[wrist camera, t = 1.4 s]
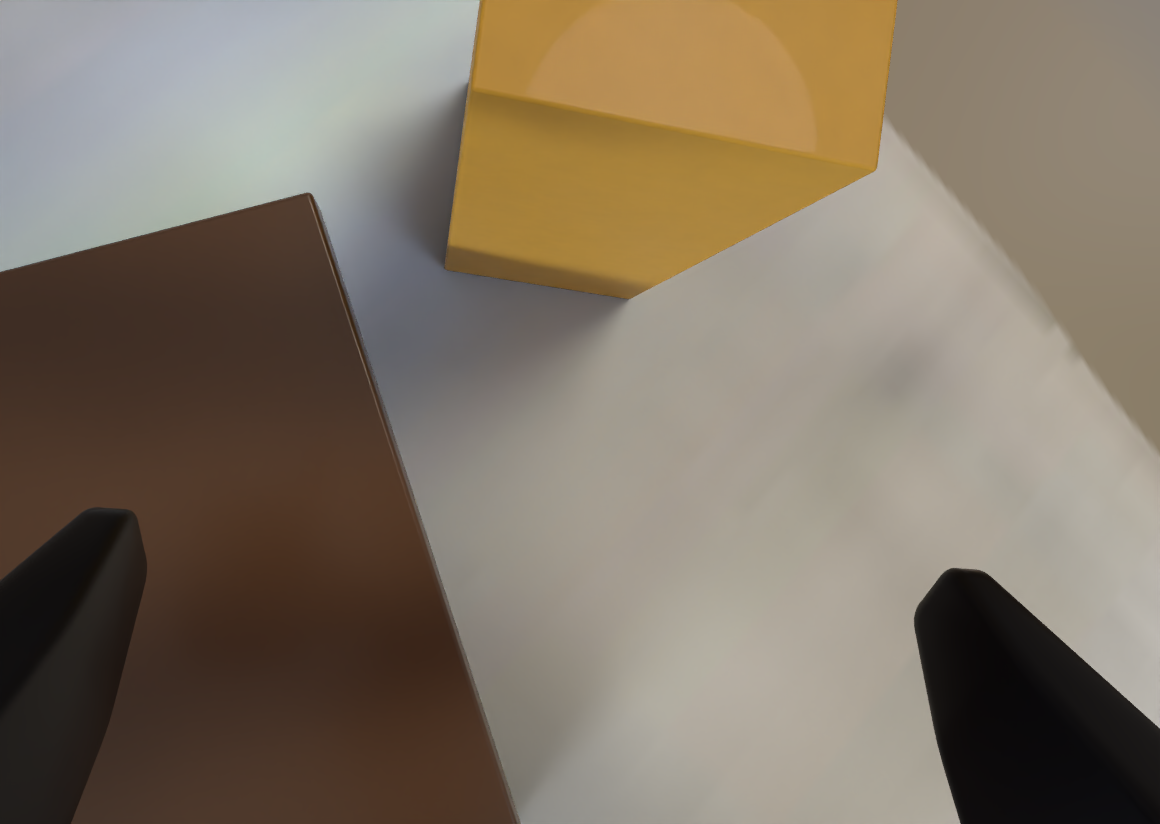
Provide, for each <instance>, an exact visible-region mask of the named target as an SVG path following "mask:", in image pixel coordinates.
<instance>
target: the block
mask: <svg viewBox="0 0 1160 824" xmlns="http://www.w3.org/2000/svg"><path fill="white" fill-rule="evenodd" d="M897 1H898V0H480V3H479V10H478V18H477V25H476V32H475V39H474V47H473V54H472V61H471V69H470V76H469V84H468V91H467V99H466V106H465V114H464V121H463V129H462V137H461V144H460V152H459V159H458V167H457V175H456V182H455V190H454V197H453V205H452V213H451V220H450V228H449V235H448V243H447V251H446V258H445V266H444V269H445V270H449V271H455V272H462V273H468V274H474V275H480V276H487V277H493V278H499V279H506V280H512V281H518V282H525V283H531V284H537V285H543V286H550V287H556V288H562V289H569V290H575V291H581V292H588V293H594V294H600V295H606V296H613V297H619V298H625V299H631V298H633V297H635V296H637V295H638V294H640V293H642V292H644V291H646V290H648V289H650V288H652V287H654V286H656V285H658V284H660V283H661V282H663V281H665V280H667V279H669V278H671V277H673V276H675V275H677V274H679V273H681V272H682V271H684V270H686V269H688V268H690V267H692V266H694V265H696V264H698V263H700V262H702V261H704V260H705V259H707V258H709V257H711V256H713V255H715V254H717V253H719V252H721V251H723V250H725V249H726V248H728V247H730V246H732V245H734V244H736V243H738V242H740V241H742V240H744V239H746V238H748V237H749V236H751V235H753V234H755V233H757V232H759V231H761V230H763V229H765V228H767V227H769V226H770V225H772V224H774V223H776V222H778V221H780V220H782V219H784V218H786V217H788V216H790V215H792V214H793V213H795V212H797V211H799V210H801V209H803V208H805V207H807V206H809V205H811V204H813V203H815V202H816V201H818V200H820V199H822V198H824V197H826V196H828V195H830V194H832V193H834V192H836V191H837V190H839V189H841V188H843V187H845V186H847V185H849V184H851V183H853V182H855V181H857V180H859V179H860V178H862V177H864V176H866V175H868V174H870V173H872V172H874V171H875V170H876V168H877V163H878V155H879V147H880V139H881V131H882V123H883V115H884V106H885V98H886V89H887V82H888V73H889V66H890V58H891V49H892V41H893V33H894V24H895V16H896V9H897Z"/></svg>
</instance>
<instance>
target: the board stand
mask: <svg viewBox="0 0 1160 824" xmlns="http://www.w3.org/2000/svg"><path fill="white" fill-rule="evenodd" d="M93 507H103V508H117V509H128V510H131V511H132V512H134V514H135V515H136V517H137V519H138V523H139V528H140V532H141V537H142V541H143V546H144V550H145V554H146V559H147V575H146V582H145V586H144V590H143V594H142V598H141V602H140V606H139V610H138V613H137V617H136V621H135V625H134V629H133V633H132V637H131V641H130V645H129V649H128V652H127V656H126V660H125V664H124V668H123V672H122V676H121V680H120V684H119V688H118V692H117V695H116V699H115V703H114V707H113V710H112V714H111V717H110V721H109V725H108V727H107V730H106V733H105V736H104V739H103V742H102V744H101V747H100V750H99V752H98V755H97V758H96V760H95V763H94V765H93V768H92V771H91V773H90V776H89V778H88V781H87V783H86V786H85V789H84V791H83V794H82V796H81V799H80V801H79V804H78V807H77V809H76V812H75V814H74V817H73V820H72V822H71V824H521V823H520V820H519V817H518V814H517V811H516V808H515V805H514V802H513V799H512V796H511V792H510V789H509V786H508V783H507V780H506V777H505V774H504V771H503V768H502V765H501V762H500V759H499V756H498V753H497V750H496V746H495V743H494V740H493V737H492V734H491V731H490V728H489V725H488V722H487V719H486V716H485V713H484V710H483V707H482V703H481V700H480V697H479V694H478V691H477V688H476V685H475V682H474V679H473V676H472V673H471V670H470V667H469V664H468V661H467V657H466V654H465V651H464V648H463V645H462V642H461V639H460V636H459V633H458V630H457V627H456V624H455V621H454V618H453V615H452V611H451V608H450V605H449V602H448V599H447V596H446V593H445V590H444V587H443V584H442V581H441V578H440V575H439V572H438V569H437V565H436V562H435V559H434V556H433V553H432V550H431V547H430V544H429V541H428V538H427V535H426V532H425V529H424V526H423V523H422V519H421V516H420V513H419V510H418V507H417V504H416V501H415V498H414V495H413V492H412V489H411V486H410V483H409V480H408V476H407V473H406V470H405V467H404V464H403V461H402V458H401V455H400V452H399V449H398V446H397V443H396V440H395V437H394V434H393V430H392V427H391V424H390V421H389V418H388V415H387V412H386V409H385V406H384V403H383V400H382V397H381V394H380V391H379V388H378V384H377V381H376V378H375V375H374V372H373V369H372V366H371V363H370V360H369V357H368V354H367V351H366V348H365V345H364V342H363V338H362V335H361V332H360V329H359V326H358V323H357V320H356V317H355V314H354V311H353V308H352V305H351V302H350V299H349V296H348V292H347V289H346V286H345V283H344V280H343V277H342V274H341V271H340V268H339V265H338V262H337V259H336V256H335V253H334V250H333V246H332V243H331V240H330V237H329V234H328V231H327V228H326V225H325V222H324V219H323V216H322V213H321V210H320V208H319V206H318V204H317V202H316V201H315V199H314V197H313V195H312V194H311V193H303V194H299V195H296V196H292V197H288V198H284V199H280V200H276V201H272V202H269V203H265V204H261V205H257V206H253V207H249V208H245V209H242V210H238V211H234V212H230V213H226V214H222V215H218V216H214V217H211V218H207V219H203V220H199V221H195V222H191V223H187V224H184V225H180V226H176V227H172V228H168V229H164V230H160V231H157V232H153V233H149V234H145V235H141V236H137V237H133V238H130V239H126V240H122V241H118V242H114V243H110V244H106V245H103V246H99V247H95V248H91V249H87V250H83V251H79V252H75V253H72V254H68V255H64V256H60V257H56V258H52V259H48V260H45V261H41V262H37V263H33V264H29V265H25V266H21V267H18V268H14V269H10V270H6V271H2V272H0V580H1V579H2V578H4V577H5V576H6V575H7V574H8V573H10V572H11V571H12V570H13V569H14V568H16V567H17V566H18V565H19V564H20V563H22V562H23V561H24V560H25V559H26V558H28V557H29V556H30V555H31V554H32V553H34V552H35V551H36V550H37V549H38V548H39V547H41V546H42V545H43V544H44V543H45V542H47V541H48V540H49V539H50V538H51V537H53V536H54V535H55V534H56V533H57V532H59V531H60V530H61V529H62V528H63V527H65V526H66V525H67V524H68V523H69V522H71V521H72V520H73V519H74V518H75V517H77V516H78V515H79V514H80V513H82V512H83V511H85V510H87V509H89V508H93Z"/></svg>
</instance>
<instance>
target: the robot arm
mask: <svg viewBox="0 0 1160 824" xmlns="http://www.w3.org/2000/svg"><path fill="white" fill-rule="evenodd" d="M146 575H147V559H146V554H145V550H144V546H143V541H142V537H141V532H140V528H139V523H138V519H137V517H136V515H135V514H134V512H132V511H131V510H128V509H117V508H103V507H93V508H89V509H87V510H85V511H83V512H82V513H80V514H79V515H78V516H77V517H75V518H74V519H73V520H72V521H71V522H69V523H68V524H67V525H66V526H65V527H63V528H62V529H61V530H60V531H59V532H57V533H56V534H55V535H54V536H53V537H51V538H50V539H49V540H48V541H47V542H45V543H44V544H43V545H42V546H41V547H39V548H38V549H37V550H36V551H35V552H34V553H32V554H31V555H30V556H29V557H28V558H26V559H25V560H24V561H23V562H22V563H20V564H19V565H18V566H17V567H16V568H14V569H13V570H12V571H11V572H10V573H8V574H7V575H6V576H5V577H4V578H2V579H1V580H0V824H71V822H72V820H73V817H74V814H75V812H76V809H77V807H78V804H79V801H80V799H81V796H82V794H83V791H84V789H85V786H86V783H87V781H88V778H89V776H90V773H91V771H92V768H93V765H94V763H95V760H96V758H97V755H98V752H99V750H100V747H101V744H102V742H103V739H104V736H105V733H106V730H107V727H108V725H109V721H110V717H111V714H112V710H113V707H114V703H115V699H116V695H117V692H118V688H119V684H120V680H121V676H122V672H123V668H124V664H125V660H126V656H127V652H128V649H129V645H130V641H131V637H132V633H133V629H134V625H135V621H136V617H137V613H138V610H139V606H140V602H141V598H142V594H143V590H144V586H145V582H146ZM914 627H915V633H916V638H917V643H918V648H919V654H920V659H921V664H922V669H923V674H924V680H925V685H926V690H927V695H928V700H929V705H930V711H931V716H932V721H933V726H934V731H935V735H936V740H937V744H938V748H939V752H940V755H941V759H942V763H943V766H944V770H945V773H946V777H947V780H948V783H949V786H950V790H951V793H952V796H953V800H954V803H955V806H956V810H957V813H958V816H959V820H960V823H961V824H1160V728H1158V727H1157V726H1156V725H1155V724H1154V723H1153V722H1152V721H1151V720H1150V719H1148V718H1147V717H1146V716H1145V715H1144V714H1143V713H1142V712H1141V711H1140V710H1138V709H1137V708H1136V707H1135V706H1134V705H1133V704H1132V703H1131V702H1130V701H1128V700H1127V699H1126V698H1125V697H1124V696H1123V695H1122V694H1121V693H1120V692H1118V691H1117V690H1116V689H1115V688H1114V687H1113V686H1112V685H1111V684H1110V683H1108V682H1107V681H1106V680H1105V679H1104V678H1103V677H1102V676H1101V675H1100V674H1098V673H1097V672H1096V671H1095V670H1094V669H1093V668H1092V667H1091V666H1090V665H1088V664H1087V663H1086V662H1085V661H1084V660H1083V659H1082V658H1081V657H1080V656H1078V655H1077V654H1076V653H1075V652H1074V651H1073V650H1072V649H1071V648H1070V647H1068V646H1067V645H1066V644H1065V643H1064V642H1063V641H1062V640H1061V639H1060V638H1058V637H1057V636H1056V635H1055V634H1054V633H1053V632H1052V631H1051V630H1050V629H1048V628H1047V627H1046V626H1045V625H1044V624H1043V623H1042V622H1041V621H1040V620H1038V619H1037V618H1036V617H1035V616H1034V615H1033V614H1032V613H1031V612H1030V611H1028V610H1027V609H1026V608H1025V607H1024V606H1023V605H1022V604H1021V603H1020V602H1018V601H1017V600H1016V599H1015V598H1014V597H1013V596H1012V595H1011V594H1010V593H1008V592H1007V591H1006V590H1005V589H1004V588H1003V587H1002V586H1001V585H1000V584H998V583H997V582H996V581H995V580H994V579H993V578H992V577H991V576H989V575H988V574H987V573H985V572H983V571H980V570H974V569H960V568H951V569H949V570H946V571H945V572H944V573H943V574H942V575H941V576H940V578H939V579H938V580H937V581H936V583H935V584H934V585H933V587H932V588H931V589H930V591H929V592H928V593H927V594H926V596H925V597H924V598H923V600H922V601H921V602H920V604H919V605H918V607H917V609H916V612H915V617H914Z"/></svg>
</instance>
